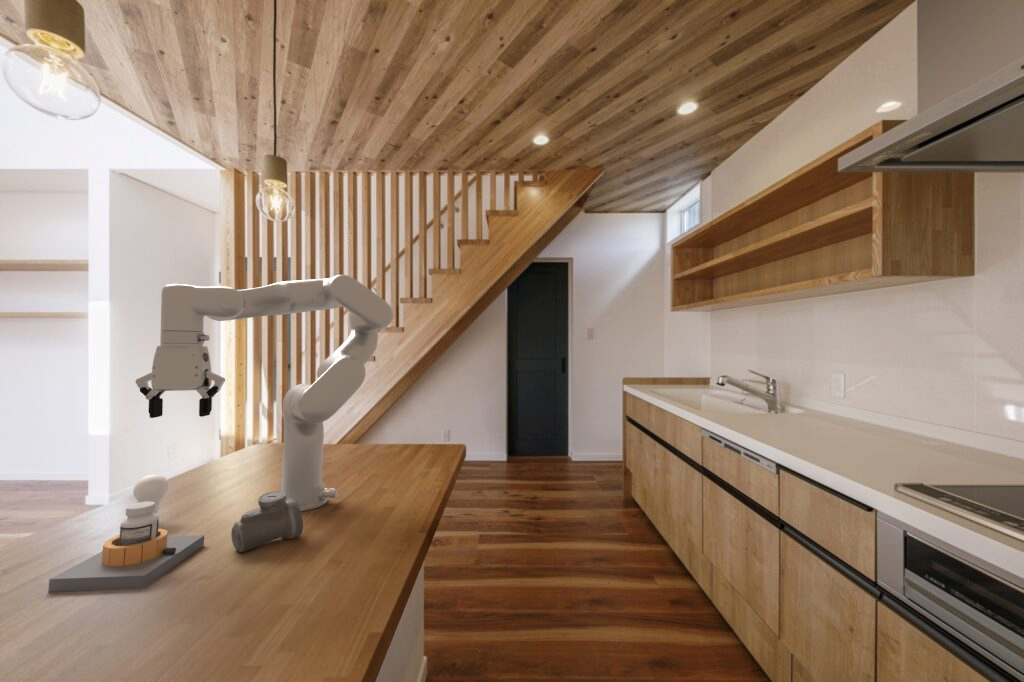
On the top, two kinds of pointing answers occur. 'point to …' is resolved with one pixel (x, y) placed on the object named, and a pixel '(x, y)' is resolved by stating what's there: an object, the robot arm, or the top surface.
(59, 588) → the plate
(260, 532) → the pipe fitting
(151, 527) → the pill bottle
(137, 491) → the lightbulb
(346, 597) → the top surface
